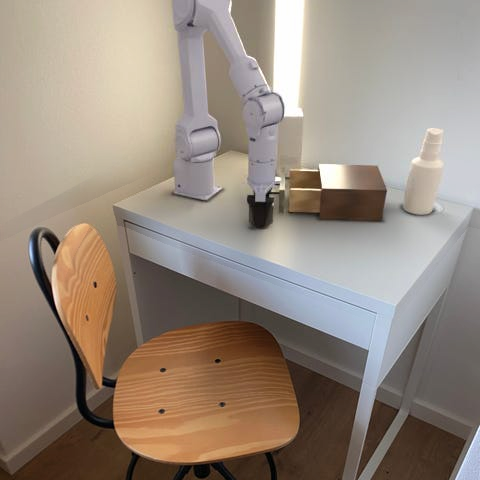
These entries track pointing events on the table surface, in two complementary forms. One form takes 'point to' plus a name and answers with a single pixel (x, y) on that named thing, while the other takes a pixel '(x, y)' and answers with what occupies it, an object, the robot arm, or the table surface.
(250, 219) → the dark grey cup
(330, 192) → the cabinet
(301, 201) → the drawer
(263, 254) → the table surface
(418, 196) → the spray bottle
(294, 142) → the cosmetic box
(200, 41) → the robot arm
